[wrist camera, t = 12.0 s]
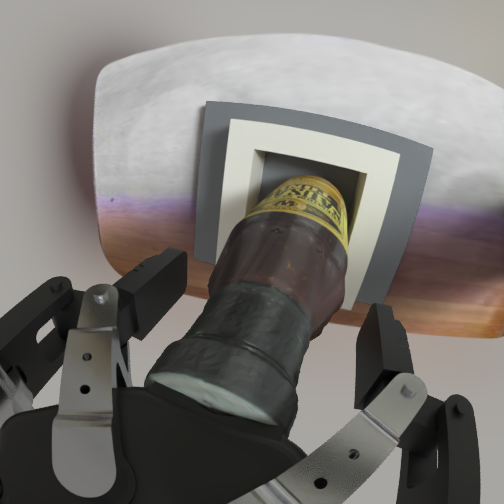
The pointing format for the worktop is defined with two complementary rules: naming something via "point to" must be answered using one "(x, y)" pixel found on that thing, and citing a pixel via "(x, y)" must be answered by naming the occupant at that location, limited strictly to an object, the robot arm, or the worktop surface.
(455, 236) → the worktop surface
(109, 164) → the worktop surface
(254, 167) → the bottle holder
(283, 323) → the sauce bottle
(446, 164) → the worktop surface
